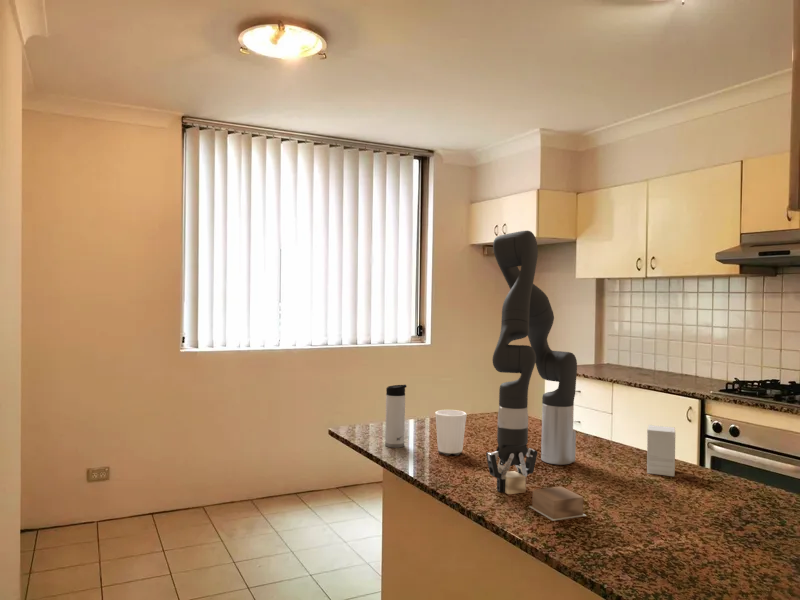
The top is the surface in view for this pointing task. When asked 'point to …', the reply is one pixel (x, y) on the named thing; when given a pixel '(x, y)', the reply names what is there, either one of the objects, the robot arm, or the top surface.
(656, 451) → the supplement box
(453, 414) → the cup
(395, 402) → the travel mug
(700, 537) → the top surface
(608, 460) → the top surface
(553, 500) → the walnut base
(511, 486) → the maple cube
